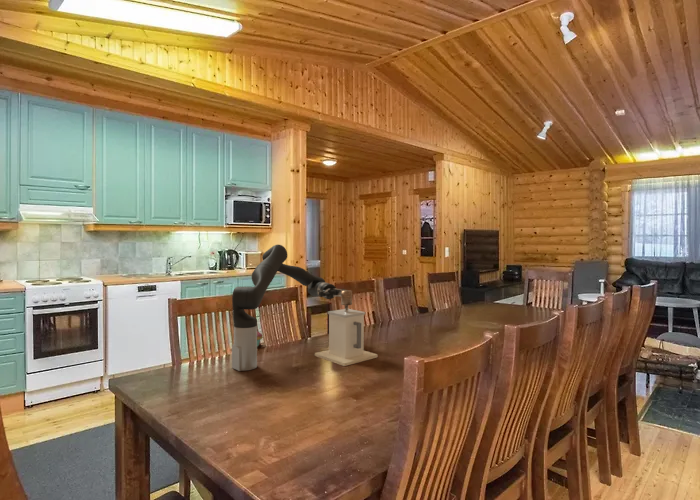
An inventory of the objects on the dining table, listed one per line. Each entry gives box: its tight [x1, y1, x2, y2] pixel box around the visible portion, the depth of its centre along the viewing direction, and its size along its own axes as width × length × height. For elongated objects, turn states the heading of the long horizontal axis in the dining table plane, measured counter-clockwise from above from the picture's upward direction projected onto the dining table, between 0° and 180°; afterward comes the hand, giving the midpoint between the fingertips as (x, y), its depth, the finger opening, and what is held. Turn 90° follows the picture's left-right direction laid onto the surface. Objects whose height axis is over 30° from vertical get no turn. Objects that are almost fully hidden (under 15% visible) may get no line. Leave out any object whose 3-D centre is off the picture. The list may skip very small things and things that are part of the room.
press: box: [314, 308, 378, 367], centre depth 198 cm, size 20×20×20 cm
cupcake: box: [257, 330, 263, 347], centre depth 215 cm, size 9×8×12 cm
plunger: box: [340, 289, 353, 313], centre depth 198 cm, size 9×9×24 cm
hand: (338, 295), depth 207 cm, fingers open, 8 cm apart
